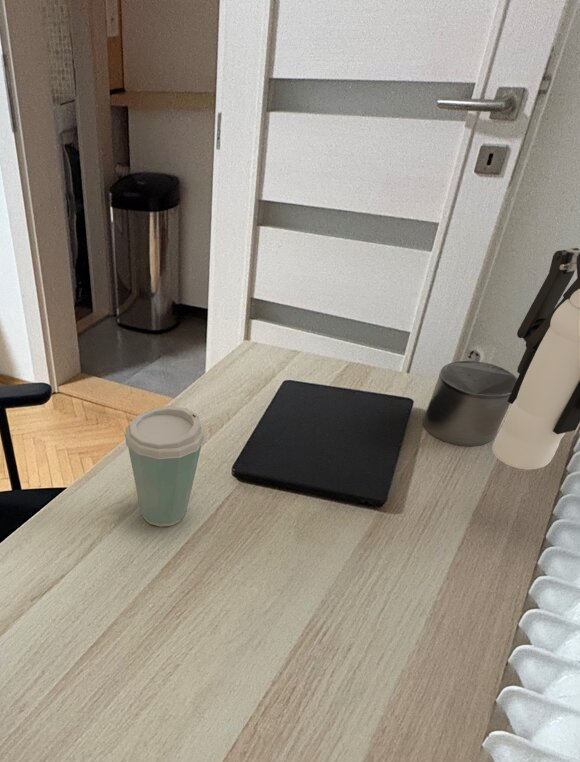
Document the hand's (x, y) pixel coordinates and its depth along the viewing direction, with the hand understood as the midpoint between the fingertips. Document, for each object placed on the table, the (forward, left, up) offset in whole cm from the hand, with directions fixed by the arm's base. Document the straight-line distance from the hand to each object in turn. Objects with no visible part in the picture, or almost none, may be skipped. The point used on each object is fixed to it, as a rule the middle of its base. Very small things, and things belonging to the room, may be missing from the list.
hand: (540, 414), depth 77 cm
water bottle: (0, 0, -6) cm, 6 cm away
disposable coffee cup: (+46, +7, -17) cm, 50 cm away
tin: (0, -25, -17) cm, 30 cm away
